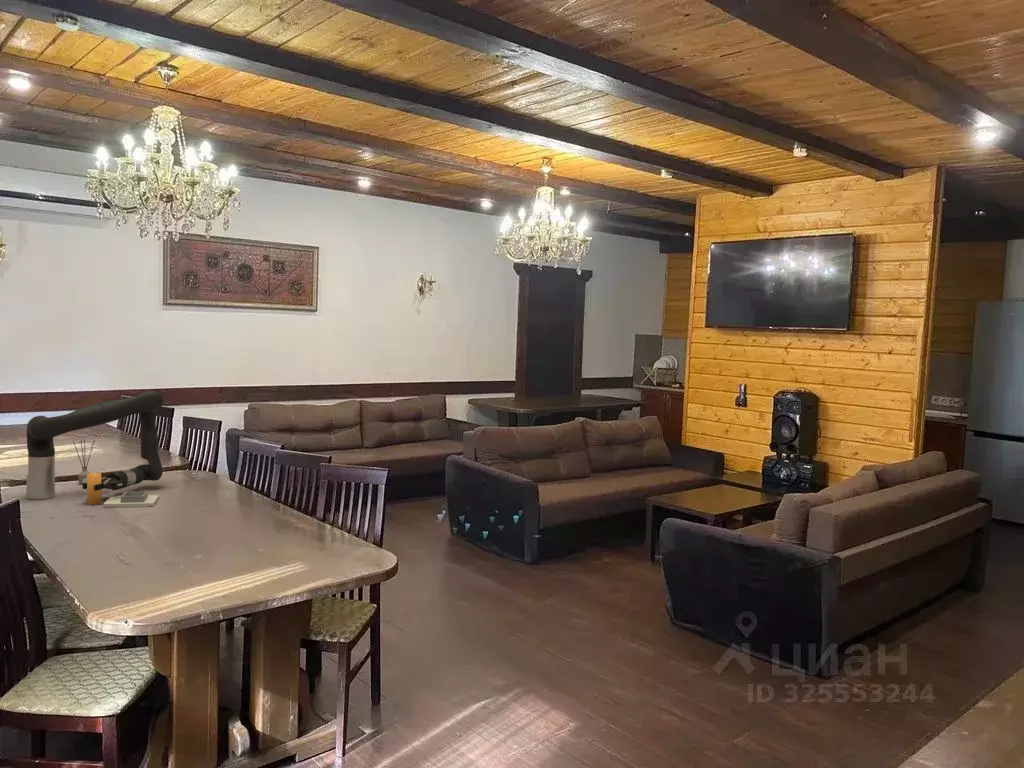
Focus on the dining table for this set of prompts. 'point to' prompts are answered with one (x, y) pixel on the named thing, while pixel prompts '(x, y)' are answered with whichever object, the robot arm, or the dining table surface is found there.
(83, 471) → the reed diffuser
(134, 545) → the dining table surface
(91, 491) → the orange cylinder
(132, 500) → the cream slab
